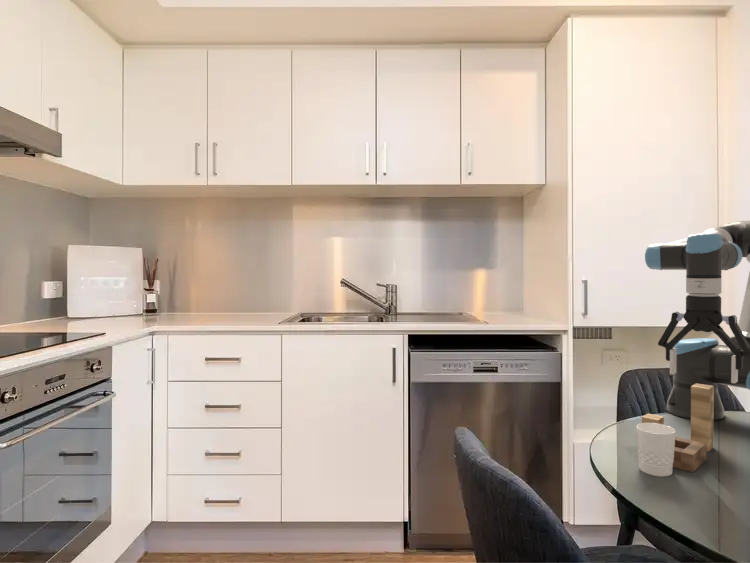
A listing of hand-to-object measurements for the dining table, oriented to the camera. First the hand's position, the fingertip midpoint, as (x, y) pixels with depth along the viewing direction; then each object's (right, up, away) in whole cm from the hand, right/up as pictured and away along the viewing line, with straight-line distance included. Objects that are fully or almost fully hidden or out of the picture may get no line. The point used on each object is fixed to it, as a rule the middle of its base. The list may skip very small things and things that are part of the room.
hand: (702, 377), depth 129 cm
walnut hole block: (-10, -19, -6) cm, 22 cm away
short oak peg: (-10, -18, +5) cm, 21 cm away
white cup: (-19, -19, -12) cm, 29 cm away
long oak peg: (+1, -18, +1) cm, 18 cm away
